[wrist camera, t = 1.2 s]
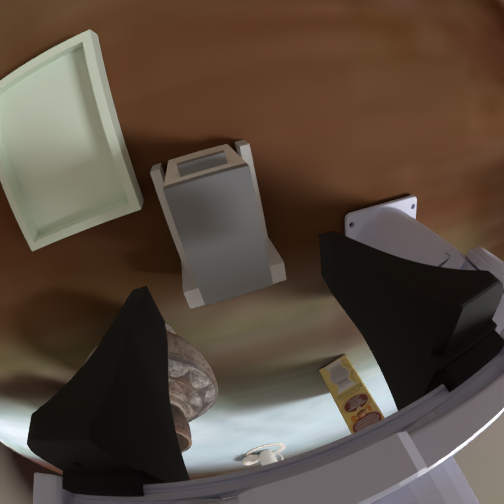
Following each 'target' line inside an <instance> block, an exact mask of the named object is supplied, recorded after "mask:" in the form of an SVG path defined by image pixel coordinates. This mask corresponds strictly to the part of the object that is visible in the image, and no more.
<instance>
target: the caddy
mask: <svg viewBox="0 0 504 504" xmlns="http://www.w3.org/2000/svg"><path fill="white" fill-rule="evenodd" d="M163 191H164V194H165V197H166V200H167V203H168V206H169V209H170V212H171V215H172V218H173V221H174V223H175V226H176V229H177V232H178V235H179V238H180V240H181V243H182V246H183V249H184V251H185V254H186V257H187V259H188V262H189V265H190V267H191V270H192V273H193V275H194V278H195V280H196V283H197V286H198V288H199V291H200V293H201V296H202V298H203V301H204V303H205V306H206V305H210V304H213V303H217V302H220V301H223V300H227V299H230V298H234V297H237V296H240V295H243V294H247V293H250V292H253V291H257V290H260V289H263V288H266V287H269V286H273V281H272V276H271V270H270V265H269V260H268V255H267V250H266V245H265V240H264V235H263V230H262V225H261V220H260V215H259V210H258V205H257V200H256V196H255V191H254V186H253V181H252V176H251V171H250V167H249V165H248V164H247V163H246V162H245V161H244V160H243V159H242V158H241V157H240V156H239V155H238V154H237V153H236V152H235V151H234V150H233V149H232V148H231V147H230V146H229V145H228V144H224V145H220V146H216V147H213V148H209V149H205V150H202V151H198V152H195V153H191V154H188V155H184V156H181V157H178V158H174V159H171V160H168V165H167V171H166V176H165V182H164V188H163Z"/></svg>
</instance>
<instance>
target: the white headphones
mask: <svg viewBox="0 0 504 504" xmlns="http://www.w3.org/2000/svg"><path fill="white" fill-rule="evenodd" d="M273 445H277V446H280V449H279V450H278V451H277V452H276V451H273V450H271V449H266V450H263V451H261V452H260V456H259V455H257V454H251V453H252V452H253V451H255V450H257V449H260V448H263V447H266V446H273ZM285 447H286V445H285V444H282V443H274V444H268V445H263V446H260V447H257V448H255V449H252V450H250V451H249V452H247V453H246V455H245V456H246V457H244V458H243V459H242V464H243V465H251V464H254V463H256V462H257V461H259V459H260V460H261V464H262V466H263V465H267V464H271V463H274V462H278V460H277V459H276V456H275V454H279V453H280V452H281V451H283V450H284V449H285ZM274 452H275V453H274ZM279 455H280V456H281V457H282V455H281V454H279ZM282 460H283V457H282Z"/></svg>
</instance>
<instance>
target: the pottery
mask: <svg viewBox="0 0 504 504" xmlns="http://www.w3.org/2000/svg"><path fill="white" fill-rule="evenodd" d="M165 326H166V333H167V341H168V378H169V396H170V404H171V409H172V415H173V420H174V425H175V430H176V434H177V439H178V442H179V446H180V450H181V453H182V452H184V451H186V450H188V449H189V448H190V447H191V445H192V441H191V432H190V427H189V424H188V422H190V421H192V420H194V419H195V418H197V417H199V416H201V415H202V414H204V413H205V412H206V411H207V410H208V409H209V408H210V407H211V406H212V405H213V404H214V403H215V401H216V399H217V395H218V386H217V382H216V379H215V376H214V374H213V372H212V370H211V368H210V366H209V364H208V363H207V362H206V360H205V358H204V357H203V356H202V355H201V353H200V352H199V351H198V350H197V349H196V348H195V347H194V346H193V345H191V344H190V343H189V342H188V341H186V340H185V339H183V338H182V337H180V336H178V335H177V334H176V333H175V331H174V330H173V329H172V328H171V327H170V326H169V325H168V324H166V323H165ZM97 347H98V345H97V346H96V348H97ZM96 348H94V350H93V351H92V352H91V353H90V355H89V357H88V358H87V359H86V361H85V363H86V362H87V360H88V359H89V358H90V356H91V355H92V354H93V352H94V351H95V350H96ZM85 363H84V364H85Z"/></svg>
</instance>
